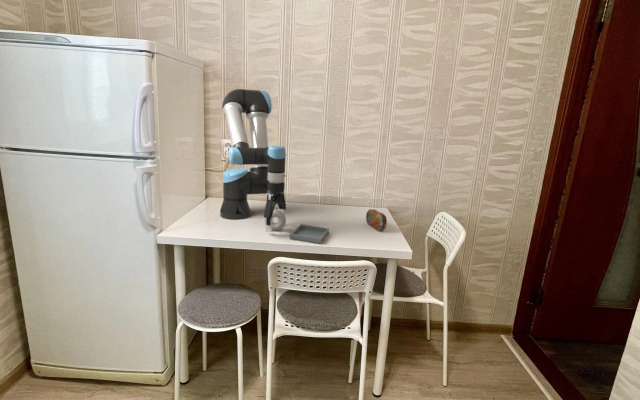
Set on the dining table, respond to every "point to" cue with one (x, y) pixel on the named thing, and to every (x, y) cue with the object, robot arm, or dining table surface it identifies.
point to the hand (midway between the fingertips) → (275, 227)
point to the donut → (281, 218)
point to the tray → (309, 234)
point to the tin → (376, 219)
